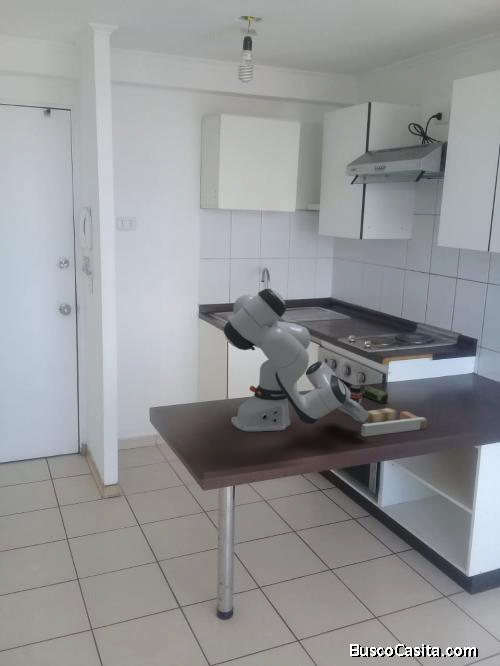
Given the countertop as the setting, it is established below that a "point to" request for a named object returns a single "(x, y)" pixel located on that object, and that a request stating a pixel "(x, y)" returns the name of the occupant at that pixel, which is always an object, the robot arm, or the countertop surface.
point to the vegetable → (375, 394)
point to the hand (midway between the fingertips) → (358, 418)
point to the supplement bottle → (356, 394)
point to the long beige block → (381, 415)
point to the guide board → (395, 425)
